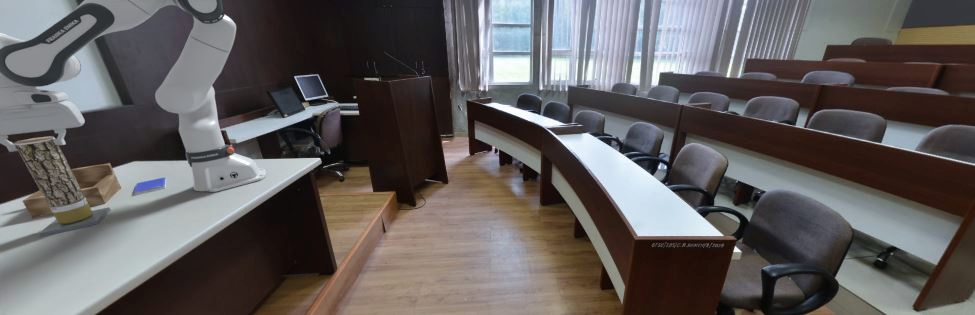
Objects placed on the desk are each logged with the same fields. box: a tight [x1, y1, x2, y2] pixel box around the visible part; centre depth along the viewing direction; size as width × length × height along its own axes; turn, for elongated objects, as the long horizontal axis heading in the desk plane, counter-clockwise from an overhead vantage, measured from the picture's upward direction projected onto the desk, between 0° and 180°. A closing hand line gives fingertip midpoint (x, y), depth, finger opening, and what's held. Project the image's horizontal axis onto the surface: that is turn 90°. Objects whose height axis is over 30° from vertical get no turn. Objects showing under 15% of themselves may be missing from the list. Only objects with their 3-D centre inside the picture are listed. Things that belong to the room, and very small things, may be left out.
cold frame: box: [22, 162, 122, 219], centre depth 110 cm, size 16×16×10 cm
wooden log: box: [13, 135, 93, 224], centre depth 93 cm, size 7×7×25 cm
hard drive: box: [133, 177, 167, 196], centre depth 122 cm, size 2×8×12 cm
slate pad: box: [38, 206, 111, 237], centre depth 98 cm, size 11×11×1 cm
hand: (38, 147), depth 90 cm, fingers closed on wooden log, 7 cm apart
